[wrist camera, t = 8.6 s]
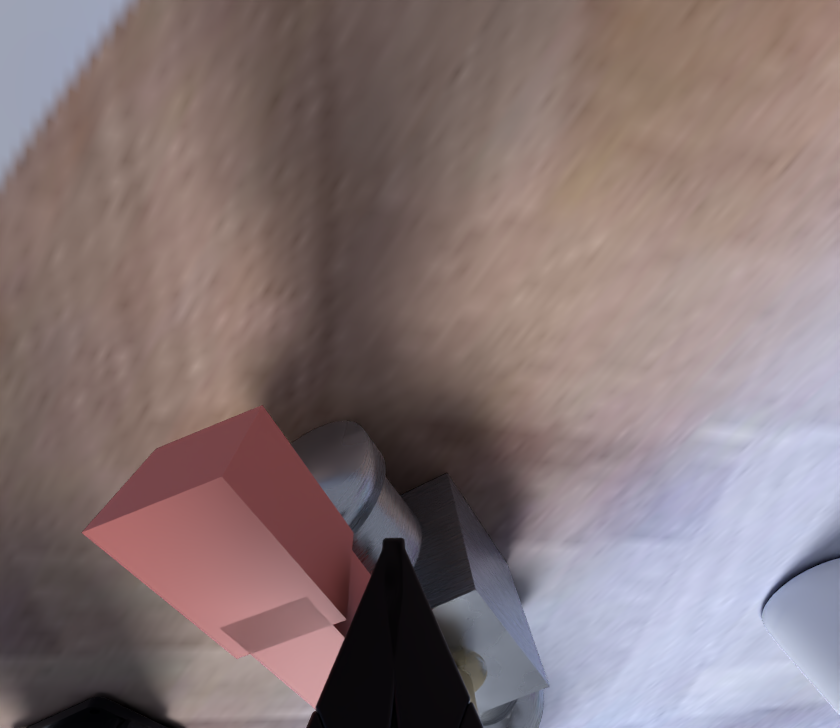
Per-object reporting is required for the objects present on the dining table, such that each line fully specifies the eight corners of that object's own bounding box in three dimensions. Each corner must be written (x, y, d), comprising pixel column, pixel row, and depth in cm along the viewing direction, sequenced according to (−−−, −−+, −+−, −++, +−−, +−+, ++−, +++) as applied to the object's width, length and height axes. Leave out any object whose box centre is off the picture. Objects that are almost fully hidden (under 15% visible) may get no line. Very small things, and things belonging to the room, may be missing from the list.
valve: (427, 656, 21) (440, 783, 16) (235, 470, 14) (167, 599, 10) (538, 610, 20) (583, 730, 16) (391, 389, 13) (398, 488, 9)
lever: (484, 697, 13) (501, 779, 11) (401, 724, 13) (405, 809, 11) (280, 397, 7) (245, 466, 5) (138, 455, 7) (59, 541, 5)
